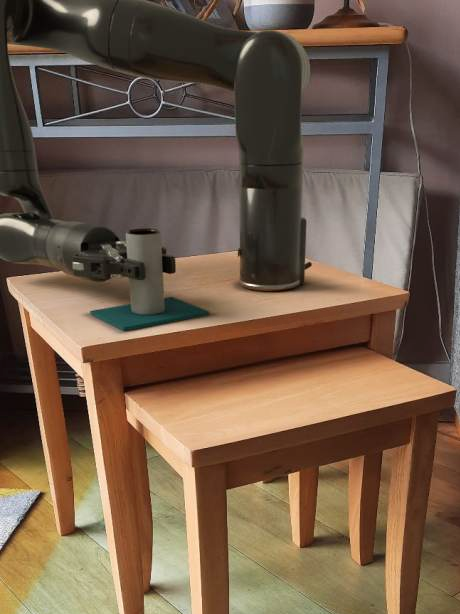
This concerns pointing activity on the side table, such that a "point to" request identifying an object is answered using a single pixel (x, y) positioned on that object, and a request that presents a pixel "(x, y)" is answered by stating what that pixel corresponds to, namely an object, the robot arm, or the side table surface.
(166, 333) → the side table surface
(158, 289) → the planter
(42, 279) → the side table surface
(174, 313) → the towel
